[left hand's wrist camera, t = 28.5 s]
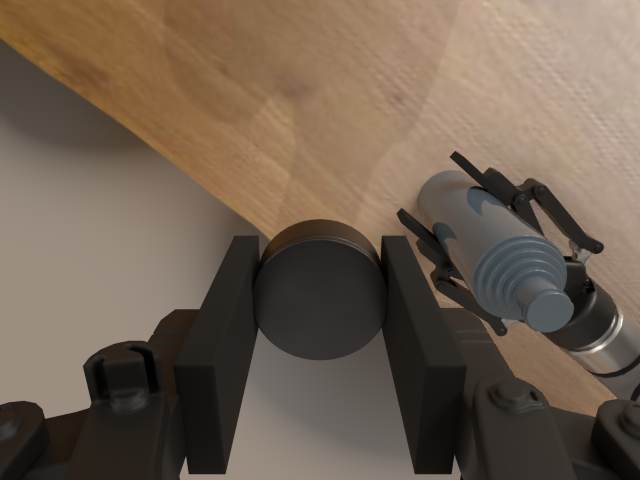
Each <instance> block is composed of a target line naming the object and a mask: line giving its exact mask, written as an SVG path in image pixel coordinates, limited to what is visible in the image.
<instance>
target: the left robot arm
mask: <svg viewBox="0 0 640 480" xmlns="http://www.w3.org/2000/svg"><path fill="white" fill-rule="evenodd" d="M380 262H381V266H382V269H383V273H384V276H385V279H386V283H387V286H388V302H387V316H386V319H385V321H384V323H383V325H382V331H383V336H384V340H385V344H386V349H387V353H388V358H389V362H390V367H391V371H392V375H393V380H394V384H395V389H396V393H397V398H398V402H399V406H400V411H401V415H402V419H403V424H404V428H405V433H406V437H407V442H408V446H409V450H410V455H411V459H412V464H413V468H414V473H415V474H452V467H453V460H454V454H455V457H456V460H457V463H458V466H459V469H460V472H461V478H460V480H640V403H639V402H635V401H631V400H621V399H615V400H609V401H605V402H604V403H603V404H602V405H601V406H599V408H598V411H597V415H596V417H592V416H588V415H583V414H579V413H574V412H570V411H565V410H562V409H558V408H555V407H552V406H550V405H549V403H548V401H547V399H546V398H545V396H544V395H543V393H542V392H540V391H539V390H538V389H537V388H535V387H534V386H533V385H532V384H529V383H527V382H525V381H523V380H521V379H519V378H515V376H514V374H513V373H512V371H511V370H510V368H509V366H508V365H507V363H506V361H505V360H504V358H503V356H502V355H501V353H500V351H499V350H498V348H497V346H496V345H495V344H493V340H492V338H491V337H490V335H489V333H487V330H486V328H485V327H484V325H483V323H482V322H481V320H480V319H479V318H478V317H477V316H475V315H474V314H473V313H471V312H470V311H469V310H467V309H466V308H440V307H439V305H438V303H437V301H436V299H435V296H434V294H433V292H432V290H431V288H430V286H429V284H428V282H427V280H426V278H425V276H424V273H423V271H422V269H421V267H420V265H419V263H418V261H417V259H416V257H415V255H414V252H413V250H412V248H411V246H410V244H409V242H408V240H407V238H406V236H382V241H381V260H380ZM259 263H260V255H259V236H234V238H233V241H232V243H231V245H230V247H229V249H228V251H227V253H226V255H225V257H224V259H223V261H222V264H221V266H220V268H219V270H218V272H217V274H216V276H215V278H214V280H213V283H212V285H211V287H210V289H209V291H208V293H207V295H206V297H205V299H204V301H203V304H202V306H201V308H200V309H175V310H174V311H173V312H171V313H170V314H169V315H167V316H166V317H164V318H163V319H162V320H161V321H160V322H159V324H158V326H157V327H156V329H155V331H154V334H153V335H152V336H151V337H150V339H149V341H148V342H145V341H126V342H121V343H116V344H113V345H110V346H108V347H106V348H103V349H101V350H99V351H98V352H97V353H95V354H94V355H92V356H91V357H90V358H89V359H88V360H87V361H86V363H85V364H84V365H83V369H84V373H85V377H86V381H87V385H88V390H89V394H90V398H91V402H92V403H91V406H90V408H88V409H85V410H81V411H78V412H74V413H70V414H65V415H61V416H56V417H52V418H47V419H45V417H44V413H43V410H42V408H40V407H39V406H38V405H37V404H36V403H32V402H27V401H18V402H9V403H5V404H2V405H0V480H180V478H179V475H180V472H181V469H182V466H183V463H184V460H185V457H186V458H187V465H188V472H189V474H226V470H227V465H228V461H229V456H230V452H231V447H232V443H233V438H234V434H235V430H236V425H237V421H238V417H239V412H240V408H241V403H242V399H243V394H244V390H245V386H246V381H247V377H248V372H249V368H250V363H251V359H252V354H253V350H254V346H255V341H256V337H257V333H258V328H259V327H258V325H257V323H256V320H255V318H254V313H253V297H252V287H253V284H254V280H255V277H256V273H257V270H258V267H259Z"/></svg>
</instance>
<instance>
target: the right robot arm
mask: <svg viewBox="0 0 640 480" xmlns="http://www.w3.org/2000/svg"><path fill="white" fill-rule="evenodd" d="M450 158H451V159H452V160H453V161H455V162H456V163H457V164H458V165H459V166H460V167H461V168H462V169H463V170H465V171H466V172H467V173H468V174H469V175H470V176H471V177H472V178H473V179H474V180H476V181H477V182H478V183H479V184H480V185H481V186H482V187H483V188H484V189H486V190H487V191H488V192H489V193H491V194H492V195H493V196H494V197H496V198H497V199H498V200H499V201H501V202H502V203H503V204H504V205H506V206H508V205H509V206H510V208H511V210H512V211H513V212H514V213H516V214H517V215H518V216H519V217H521V218H522V219H523V220H524V221H526V222H527V223H528V224H529V225H531V226H532V227H533V228H534V229H536V230H537V231H538V232H539V233H541V234H542V235H543V236H544V234H543V232H542V230H541V227H540V225H539V223H538V221H537V218H536V216H535V214H534V212H533V209H532V207H531V205H530V203H529V201H530V200H532V199H534V200H535V201H536V202H537V204H538V205H539V206H540V207H541V208H542V210H543V211H544V212H545V213H546V214H547V215H548V217H549V218H550V219H551V220H552V221H553V223H554V224H555V225H556V226H557V227H558V229H559V230H560V231H561V232H562V233H563V234H564V235H565V236H566V237H568V238H569V239H570V240H569V248H570V249H571V250H572V252H573V254H572V256H563V257H564V260H565V265H566V270H567V279H566V284H565V287H564V290H563V292H565V293H566V294H567V295H568V296H569V299H570V301H571V303H573V304H574V311H573V315H572V317H571V319H570V320H569V321H568V323H567V324H566V325H565V326H563V327H562V328H560V329H558V330H556V331H553V332H541V333H542V334H543V335H544V336H546V337H547V338H548V339H549V340H550V341H552V342H553V343H554V344H555V345H557V346H559V348H560V349H561V350H562V351H563V352H565V353H566V354H567V355H568V356H570V357H571V358H572V359H573V360H575V361H576V362H577V363H578V364H580V365H581V366H582V367H583V368H584V369H586V370H587V371H588V372H590V373H591V374H592V375H593V376H594V377H595V378H597V379H598V380H599V381H600V382H601V383H602V384H603V385H604V386H606V387H607V388H608V389H609V390H610V391H611V392H612V393H613V394H614V395H615V396H616V397H617V399H621V400H631V401H635V402H639V403H640V323H639V321H638V320H636V319H635V318H634V317H633V316H632V315H631V314H630V313H629V312H628V311H627V310H625V309H624V308H623V307H622V306H621V305H620V304H619V303H618V302H617V301H615V300H614V299H612V298H611V296H610V295H609V294H608V293H607V292H605V291H604V290H603V289H602V288H601V287H600V286H599V285H598V284H597V283H596V282H595V281H593V280H592V279H591V278H590V277H589V276H588V275H587V272H586V268H585V266H584V263H585V262H586V261H587V259H588V258H589V257H590V255H591V254H592V253H594V254H599V253H601V252H602V251H603V249H604V246H603V244H602V243H601V242H599V241H598V240H596V239H595V238H593V237H591V236H590V235H588V234H587V233H585V232H584V231H583V230H582V229H581V228H580V227H579V225H578V224H577V223H576V222H575V221H574V219H573V218H572V217H571V216H570V214H569V213H568V212H567V211H566V210H565V208H564V207H563V206H562V205H561V204H560V202H559V201H558V200H557V199H556V197H555V196H554V195H553V194H552V193H551V191H550V190H549V189H548V188H547V187H546V186H545V185H543V184H542V183H540V182H538V181H536V180H535V179H533V178H529V179H527V180H526V181H525V182H524V184H522V185H520V186H514V185H513V184H512V183H511V182H510V181H509V180H508V179H507V178H506V177H504V176H503V175H502V174H501V173H500V172H499V171H497V170H496V169H493V168H490V167H489V168H488V169H487V170H486V171H485V172H484V174H482V173H481V172H480V171H479V170H478V169H477V168H475V167H474V166H473V165H472V164H471V163H470V162H469V161H468V160H467V159H466V158H465V157H463V156H462V155H461V154H459V153H458V152H456V151H455V152H454V153H453V154H452V155H451V156H450ZM397 215H398V218H399V220H400V222H401V223H402V224H403V225H404V226H406V227H407V228H408V229H409V230H411V231H412V232H413V233H414V234H415V235H417V236H418V237H419V238H420V239H419V240H418V241H417V242H416V245H417V247H418V249H419V251H420V253H422V254H423V255H424V256H425V257H427V258H428V259H429V260H430V261H431V262H433V263H434V264H435V265H436V268H435V270H434V271H433V272H431V274H430V278H431V280H432V282H433V284H434V286H435V288H436V289H437V290H438V291H439V292H441V293H442V294H444V295H445V296H447V297H449V298H450V299H452V300H453V301H455V302H456V303H458V304H460V305H461V306H463V307H464V308H466V309H467V310H469V311H471V312H472V313H474V314H475V315H477V316H478V317H480V318H482V319H483V320H485V321H486V322H488V323H489V324H490V326H491V327H492V328H493V330H494V331H495V333H496V334H497V335H498V336H504V335H505V334H506V333H507V328H506V327H508V326H510V325H512V324H513V323H515V322H517V321H520V322H523V323H526V322H525V321H524V320H508V319H503V318H500V317H497V316H495V315H492V314H490V313H489V312H487V311H485V310H484V309H483V308H482V307H481V306H480V305H479V304H478V302H477V301H476V299H475V298H474V296H473V294H472V293H471V291H469V290H468V289H466V288H465V287H463V286H462V285H460V284H458V283H457V282H455V281H454V280H452V279H451V278H450V276H451V277H454V278H457V279H460V280H463V279H462V277H461V276H460V274H459V273H458V271H457V270H456V268H455V266H454V265H453V263H452V262H451V260H450V259H449V257H448V255H447V254H446V252H445V251H444V249H443V248H442V246H441V245H440V243H439V241H438V240H437V238H436V237H435V235H433V234H432V233H431V232H430V231H429V230H427V229H426V228H425V227H424V226H423V225H422V224H420V223H419V222H418V221H417V220H416V219H414V218H413V217H412V216H411V215H410V214H408V213H407V212H406V211H405V210H404V209H402V208H401V209H400V210H399V211H398V212H397ZM544 237H545V236H544ZM463 281H464V280H463Z"/></svg>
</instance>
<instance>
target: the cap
mask: <svg viewBox="0 0 640 480" xmlns="http://www.w3.org/2000/svg"><path fill="white" fill-rule="evenodd" d="M252 297H253V313H254V318H255V320H256V323H257V325H258V327H259V328H260V330H261V331H262V333H263V334H264V335H265V336H266V337H267V339H268V340H269V341H271V342H272V343H273V344H274V345H275V346H277V347H278V348H279V349H281V350H283V351H285V352H287V353H289V354H291V355H294V356H297V357H300V358H304V359H310V360H329V359H336V358H340V357H344V356H347V355H349V354H351V353H354V352H355V351H357V350H359V349H361V348H362V347H364V346H365V345H366V344H368V343H369V342H370V341H371V340H372V339H373V338H374V337H375V335H376V334H377V333H378V332H379V330H380V329H381V327H382V325H383V323H384V321H385V319H386V316H387V302H388V286H387V283H386V279H385V276H384V273H383V269H382V266H381V262H380V259H379V256H378V254H377V252H376V250H375V248H374V247H373V245H372V244H371V243H370V241H369V240H368V239H367V238H366V237H365V236H364V235H363V234H361V233H360V232H359V231H357V230H356V229H354V228H353V227H350V226H348V225H346V224H344V223H340V222H337V221H332V220H324V219H317V220H308V221H303V222H300V223H297V224H294V225H292V226H290V227H288V228H286V229H285V230H283V231H281V232H280V233H279V234H278V235H277V236H275V237H274V238H273V239H272V241H271V242H270V243H269V244H268V246H267V247H266V249H265V251H264V253H263V255H262V257H261V260H260V263H259V267H258V270H257V273H256V277H255V280H254V284H253V287H252Z"/></svg>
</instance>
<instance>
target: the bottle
mask: <svg viewBox="0 0 640 480" xmlns="http://www.w3.org/2000/svg"><path fill="white" fill-rule="evenodd" d="M418 205H419V210H420V213H421V215H422V217H423V218H424V220H425V221H426V223H427V224H428V226H429V227H430V229H431V231H432V232H433V234H434V235H435V237H436V238H437V240H438V241H439V243H440V245H441V246H442V248H443V249H444V251H445V252H446V254H447V255H448V257H449V259H450V260H451V262H452V263H453V265H454V266H455V268H456V270H457V271H458V273H459V274H460V276H461V277H462V279H463V280H464V282H465V284H466V285H467V287H468V288H469V290H470V291H471V293H472V294H473V296H474V298H475V299H476V301H477V302H478V304H479V305H480V306H481V307H482V308H483V309H484V310H485V311H487V312H489V313H490V314H492V315H495V316H497V317H500V318H503V319H508V320H524V321H525V322H526V324H527V325H528V326H529V327H530V328H531V329H533V330H535V331H539V332H553V331H556V330H558V329H560V328H562V327H563V326H565V325H566V324H567V323H568V321H569V320H570V319H571V317H572V315H573V311H574V304H573V303H571V301H570V299H569V296H568V295H567V294H566V293H565V292H563V290H564V287H565V284H566V279H567V270H566V265H565V260H564V257H563V255H562V253H561V252H560V250H559V249H558V248H557V247H556V246H555V245H554V244H553V243H552V242H551V241H549V240H548V239H547V238H546V237H544V236H543V235H542V234H541V233H539V232H538V231H537V230H536V229H534V228H533V227H532V226H531V225H529V224H528V223H527V222H526V221H524V220H523V219H522V218H521V217H519V216H518V215H517V214H516V213H514V212H513V211H512V210H511V209H509V208H508V207H507V206H506V205H504V204H503V203H502V202H501V201H499V200H498V199H497V198H496V197H494V196H493V195H492V194H491V193H489V192H488V191H487V190H486V189H484V188H483V187H482V186H481V185H479V184H478V183H477V182H476V181H474V180H473V179H472V178H471V177H469V176H468V175H466V174H464V173H462V172H459V171H444V172H441V173H438V174H436V175H435V176H433V177H432V178H430V179H429V180H428V181H427V182H426V183H425V185H424V186H423V188H422V189H421V192H420V195H419V200H418Z"/></svg>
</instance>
